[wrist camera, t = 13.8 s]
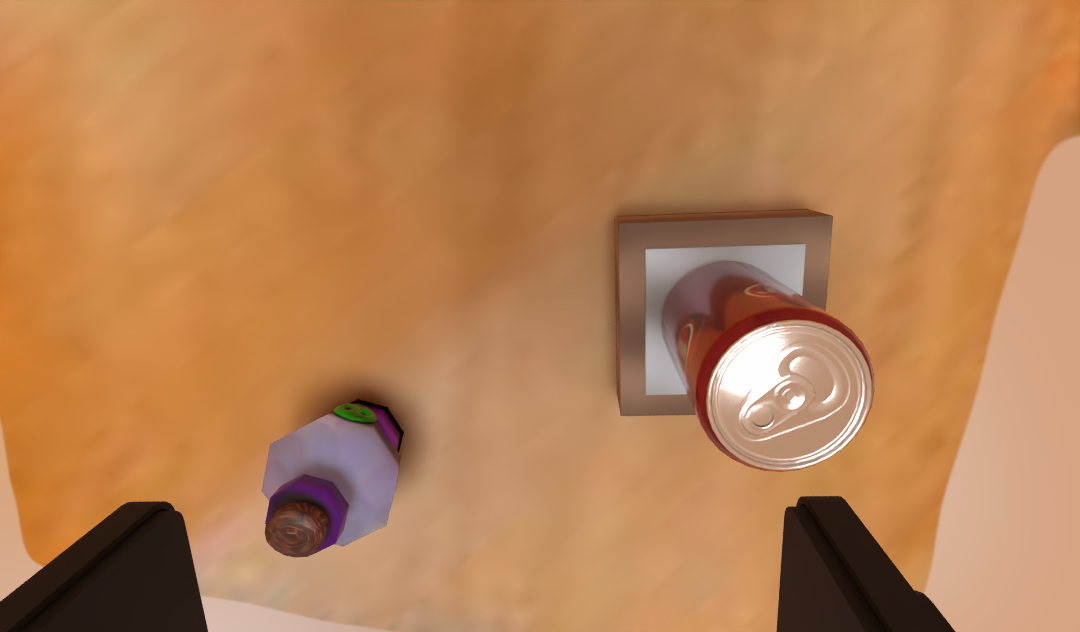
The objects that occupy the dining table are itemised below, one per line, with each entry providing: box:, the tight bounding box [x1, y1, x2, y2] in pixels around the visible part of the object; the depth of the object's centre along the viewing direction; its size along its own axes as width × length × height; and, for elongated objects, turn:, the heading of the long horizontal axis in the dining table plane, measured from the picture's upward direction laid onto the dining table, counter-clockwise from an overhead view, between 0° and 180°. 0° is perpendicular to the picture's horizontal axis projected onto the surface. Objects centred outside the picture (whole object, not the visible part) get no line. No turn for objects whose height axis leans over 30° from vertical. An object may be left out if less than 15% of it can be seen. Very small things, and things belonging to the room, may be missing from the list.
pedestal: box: [615, 209, 833, 416], centre depth 39 cm, size 12×12×4 cm
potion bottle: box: [262, 399, 404, 557], centre depth 39 cm, size 9×9×12 cm
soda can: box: [661, 261, 874, 472], centre depth 31 cm, size 7×7×12 cm
